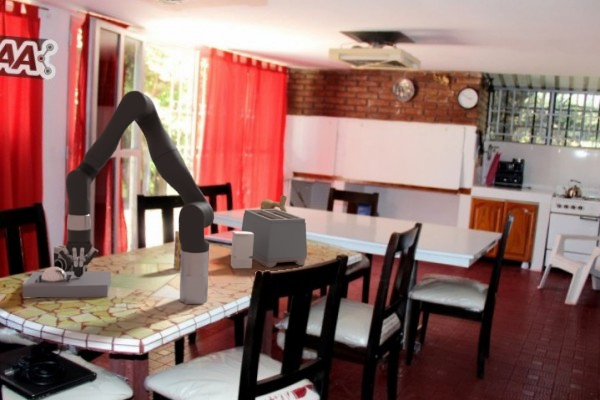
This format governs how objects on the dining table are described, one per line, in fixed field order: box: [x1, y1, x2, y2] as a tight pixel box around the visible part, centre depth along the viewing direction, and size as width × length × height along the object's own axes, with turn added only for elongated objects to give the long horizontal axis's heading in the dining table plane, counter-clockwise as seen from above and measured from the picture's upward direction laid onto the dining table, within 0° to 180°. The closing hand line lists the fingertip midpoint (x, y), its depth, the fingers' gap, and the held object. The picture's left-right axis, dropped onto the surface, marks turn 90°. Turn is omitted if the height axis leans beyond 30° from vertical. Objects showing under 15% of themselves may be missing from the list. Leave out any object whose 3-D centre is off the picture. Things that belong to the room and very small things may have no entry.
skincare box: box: [230, 230, 254, 270], centre depth 243 cm, size 8×6×15 cm
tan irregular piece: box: [260, 195, 288, 212], centre depth 295 cm, size 17×20×25 cm
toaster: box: [241, 208, 308, 269], centre depth 262 cm, size 19×35×20 cm, turn 29°
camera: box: [53, 245, 88, 272], centre depth 220 cm, size 14×9×10 cm, turn 58°
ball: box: [41, 266, 67, 283], centre depth 199 cm, size 8×8×8 cm
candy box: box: [173, 230, 181, 271], centre depth 236 cm, size 9×4×15 cm, turn 123°
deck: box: [22, 270, 112, 299], centre depth 200 cm, size 18×26×4 cm
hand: (78, 276), depth 201 cm, fingers closed
